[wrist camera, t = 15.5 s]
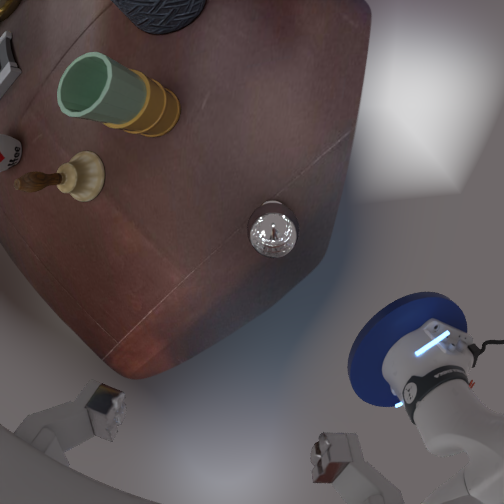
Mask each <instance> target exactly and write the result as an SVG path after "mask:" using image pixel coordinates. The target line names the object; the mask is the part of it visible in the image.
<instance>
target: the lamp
mask: <svg viewBox="0 0 504 504" xmlns="http://www.w3.org/2000/svg"><path fill="white" fill-rule="evenodd" d="M21 1H22V0H0V22H2V21H4V20H5V19H7V18H8V17H9V16H10V15H11V14H12V13H13V12H14V11H15V9H16V8H17V7H18V5H19V4H20V2H21Z"/></svg>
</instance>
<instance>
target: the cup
mask: <svg viewBox="0 0 504 504" xmlns="http://www.w3.org/2000/svg"><path fill="white" fill-rule="evenodd" d="M21 154H22V147H21V143H20V142H19V141H18V140H16V139H14V138H12V137H10V136H7V135H3V134H0V172H2V171H4V170H7V169H9V168H11V167H12V166H14V165H16V164H17V163H18V162H19V160H20V158H21Z"/></svg>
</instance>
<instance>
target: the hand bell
mask: <svg viewBox="0 0 504 504" xmlns="http://www.w3.org/2000/svg"><path fill="white" fill-rule="evenodd" d="M104 179H105V170H104V166H103V163H102V161H101V159H100V158H99V157H98V156H97V155H96V154H95V153H93V152H91V151H82V152H80V153H78V154H76V155H75V156H74V157H73V158H72V159H71V160H70V162H69V163H65V164H63V165H62V166H60V168H59V169H58V171H57V173H54V174H45V173H42V172H29V173H27V174H25V175H23V176H21V177H20V178H18V179H16V180H15V181H14V187H15V189H16V190H21V191H24V192H36V191H39V190H41V189H43V188H45V187H46V186H49V185H57V187H58V189H59V190H60V191H62V192H64V193H70V194H71V196H72V197H74V198H75V199H76V200H78V201H82V202H87V201H90V200H92V199H94V198H95V197H96V196H97V195H98V194H99V193H100V191H101V189H102V187H103V184H104Z"/></svg>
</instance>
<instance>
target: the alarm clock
mask: <svg viewBox="0 0 504 504" xmlns="http://www.w3.org/2000/svg"><path fill="white" fill-rule="evenodd" d="M11 38H12V33H11V32H9V31H7V30H6V31H5V33H4V34H3V35H2V36H1V37H0V99H1V98H2V96H3V95H4V94H5V92H6V91H7V90H8V88H9V87H10V86H11V85H12V83H13V82H14V81H15V80H16V78H17V77H18V76H19V75H20V74H21V70H20V69H19V68H17V64H16V63H15V61H14V58H13V55H12V51H11V45H10V39H11Z"/></svg>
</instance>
